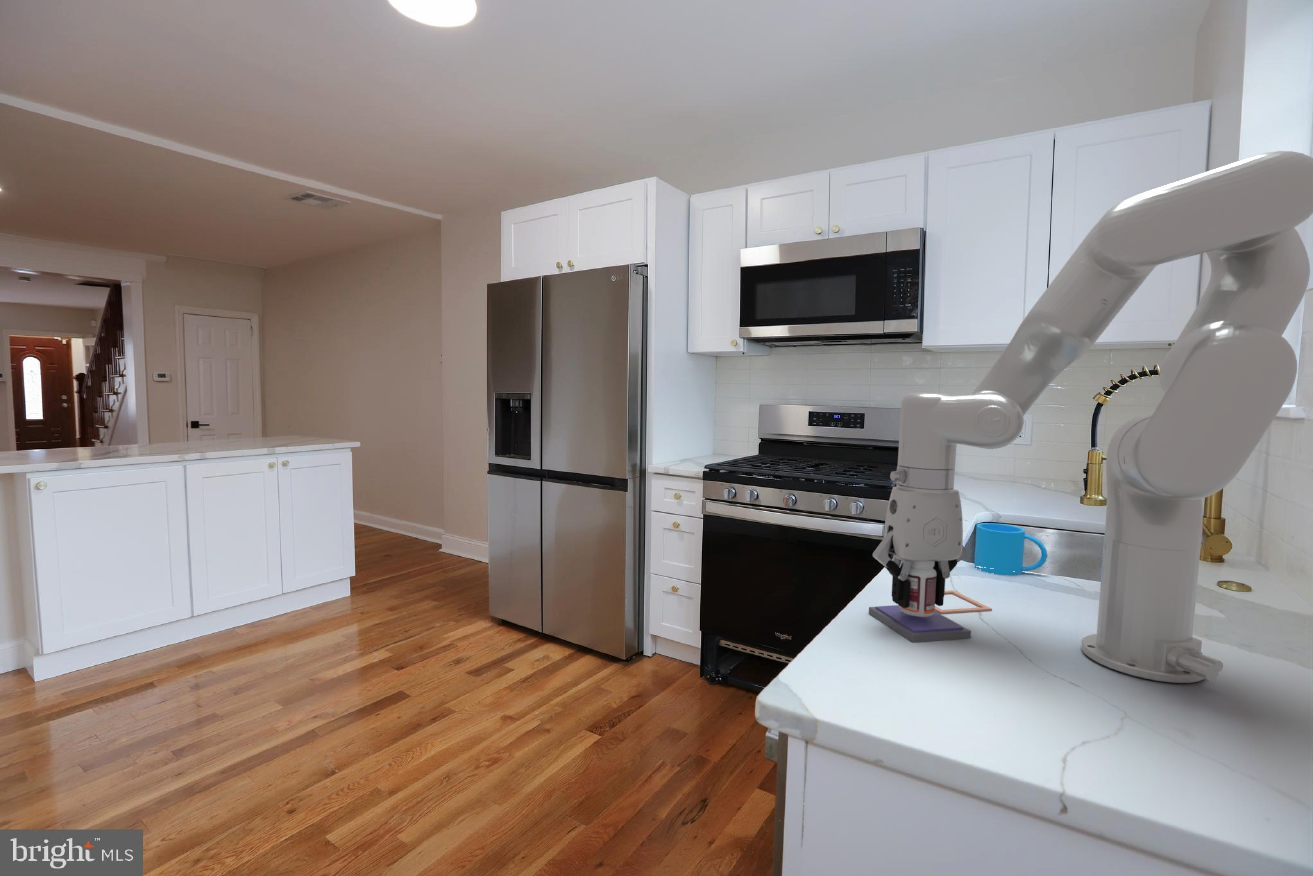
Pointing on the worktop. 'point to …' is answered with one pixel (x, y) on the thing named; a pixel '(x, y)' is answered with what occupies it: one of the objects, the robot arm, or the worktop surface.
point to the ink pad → (919, 625)
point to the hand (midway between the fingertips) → (917, 602)
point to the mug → (1003, 549)
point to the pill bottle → (921, 589)
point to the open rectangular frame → (982, 608)
